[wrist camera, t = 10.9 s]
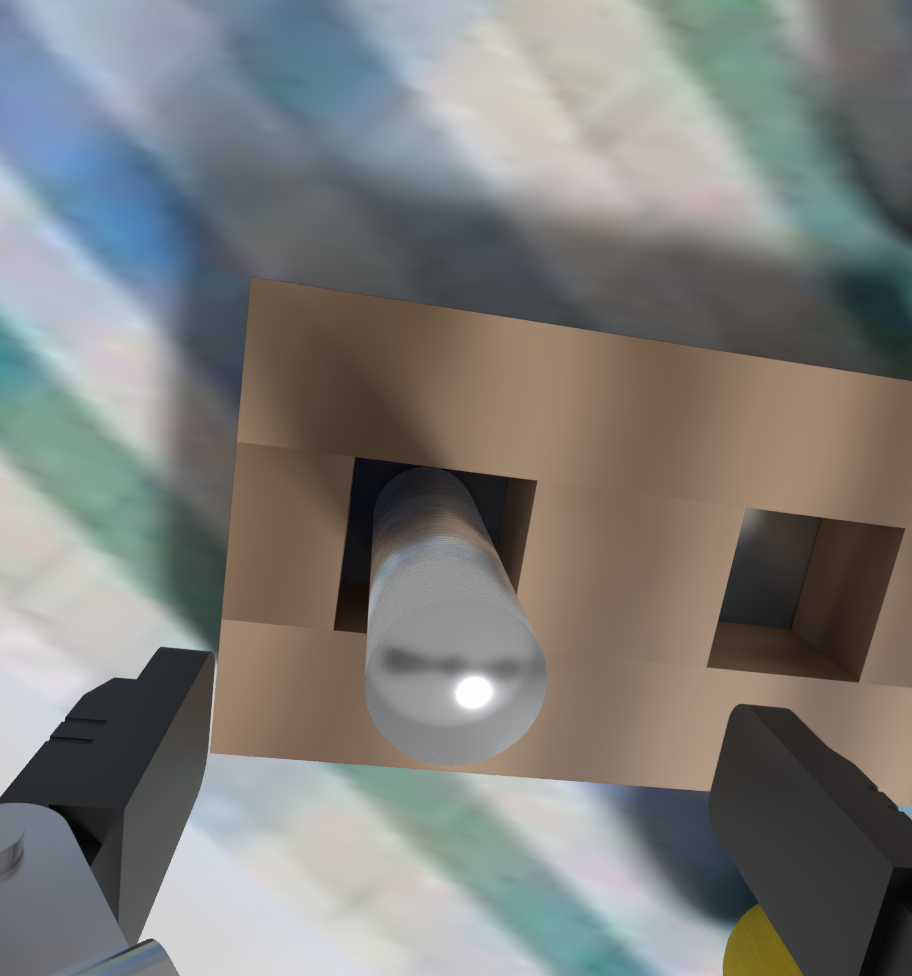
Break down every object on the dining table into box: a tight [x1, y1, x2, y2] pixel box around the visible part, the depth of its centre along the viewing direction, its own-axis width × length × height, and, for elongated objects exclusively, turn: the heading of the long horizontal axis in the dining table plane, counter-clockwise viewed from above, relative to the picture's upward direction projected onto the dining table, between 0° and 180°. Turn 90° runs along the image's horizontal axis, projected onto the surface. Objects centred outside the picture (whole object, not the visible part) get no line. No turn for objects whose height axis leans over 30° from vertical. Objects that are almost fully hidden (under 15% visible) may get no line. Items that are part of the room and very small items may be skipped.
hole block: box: [210, 277, 912, 807], centre depth 21 cm, size 20×12×4 cm, turn 81°
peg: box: [364, 467, 547, 766], centre depth 17 cm, size 3×3×10 cm
